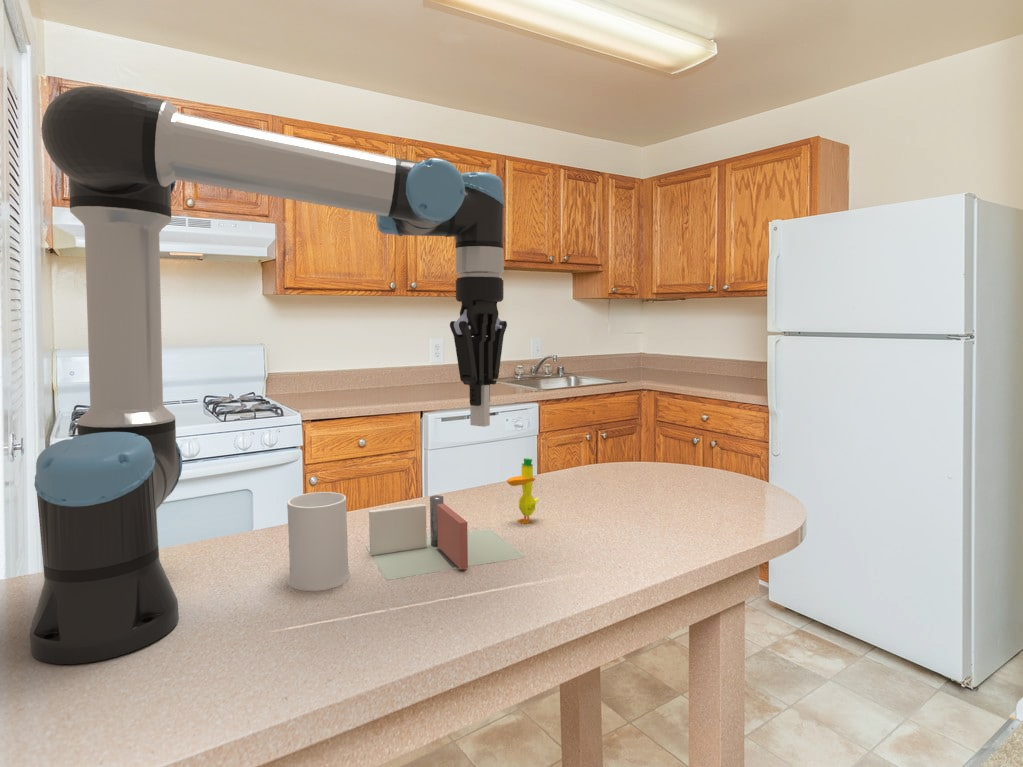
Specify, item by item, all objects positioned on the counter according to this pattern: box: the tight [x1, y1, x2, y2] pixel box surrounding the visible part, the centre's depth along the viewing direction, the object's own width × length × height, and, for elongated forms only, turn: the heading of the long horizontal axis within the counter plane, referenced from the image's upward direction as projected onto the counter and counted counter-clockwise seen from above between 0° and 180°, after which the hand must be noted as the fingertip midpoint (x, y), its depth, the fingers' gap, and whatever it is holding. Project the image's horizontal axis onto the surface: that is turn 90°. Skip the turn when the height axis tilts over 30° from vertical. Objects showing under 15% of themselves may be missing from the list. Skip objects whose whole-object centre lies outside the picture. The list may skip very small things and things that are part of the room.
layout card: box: [365, 528, 526, 581], centre depth 104 cm, size 22×15×1 cm
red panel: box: [437, 503, 469, 570], centre depth 100 cm, size 10×1×7 cm, turn 25°
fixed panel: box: [368, 503, 427, 557], centre depth 104 cm, size 9×1×7 cm, turn 113°
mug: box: [286, 491, 351, 592], centre depth 94 cm, size 12×8×12 cm
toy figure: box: [506, 457, 540, 525], centre depth 118 cm, size 7×4×12 cm, turn 121°
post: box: [429, 494, 444, 547], centre depth 106 cm, size 2×2×8 cm
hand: (480, 425), depth 104 cm, fingers closed
